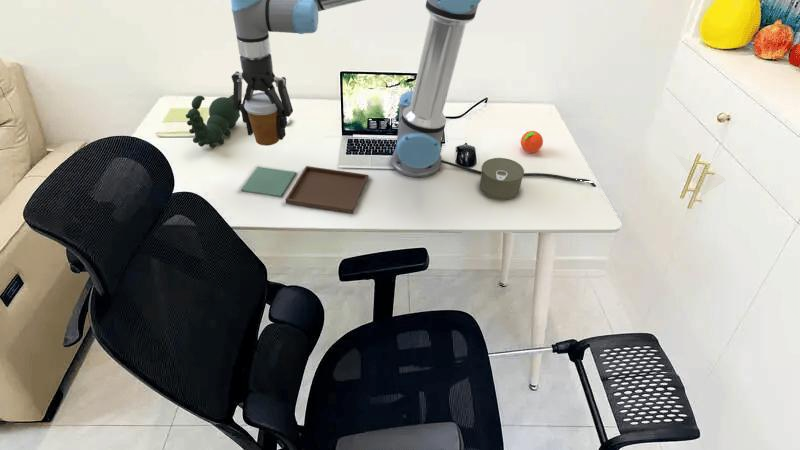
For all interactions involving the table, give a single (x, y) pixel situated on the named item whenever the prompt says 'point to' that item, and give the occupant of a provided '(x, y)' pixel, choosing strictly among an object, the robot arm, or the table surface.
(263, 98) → the disposable coffee cup
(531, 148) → the clementine
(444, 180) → the table surface
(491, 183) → the can
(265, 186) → the mat
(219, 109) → the toy figurine
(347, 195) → the tray
